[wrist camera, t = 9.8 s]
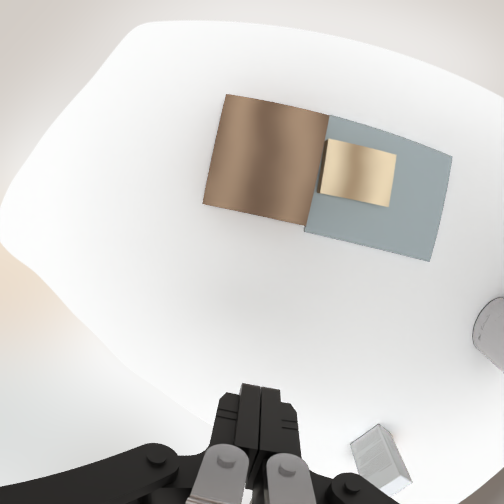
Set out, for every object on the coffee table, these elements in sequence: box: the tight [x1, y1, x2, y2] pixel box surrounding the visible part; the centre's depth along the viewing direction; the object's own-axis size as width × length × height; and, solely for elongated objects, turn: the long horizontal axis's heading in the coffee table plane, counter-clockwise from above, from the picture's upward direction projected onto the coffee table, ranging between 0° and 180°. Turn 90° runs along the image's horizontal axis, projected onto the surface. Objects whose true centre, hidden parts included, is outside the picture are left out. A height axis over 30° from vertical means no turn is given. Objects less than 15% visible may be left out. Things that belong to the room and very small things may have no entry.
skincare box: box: [350, 424, 412, 497], centre depth 38 cm, size 6×4×12 cm
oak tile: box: [317, 139, 397, 207], centre depth 34 cm, size 8×6×2 cm
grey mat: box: [304, 115, 452, 262], centre depth 36 cm, size 17×14×1 cm
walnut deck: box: [202, 94, 329, 226], centre depth 34 cm, size 11×12×4 cm
